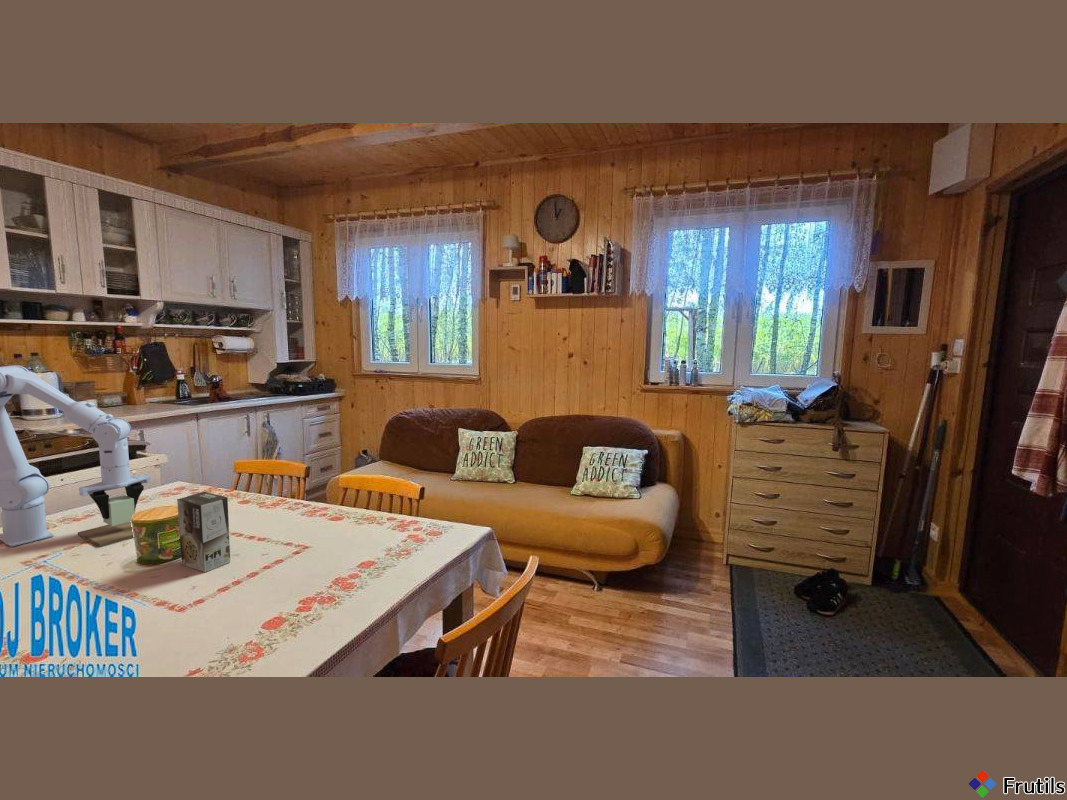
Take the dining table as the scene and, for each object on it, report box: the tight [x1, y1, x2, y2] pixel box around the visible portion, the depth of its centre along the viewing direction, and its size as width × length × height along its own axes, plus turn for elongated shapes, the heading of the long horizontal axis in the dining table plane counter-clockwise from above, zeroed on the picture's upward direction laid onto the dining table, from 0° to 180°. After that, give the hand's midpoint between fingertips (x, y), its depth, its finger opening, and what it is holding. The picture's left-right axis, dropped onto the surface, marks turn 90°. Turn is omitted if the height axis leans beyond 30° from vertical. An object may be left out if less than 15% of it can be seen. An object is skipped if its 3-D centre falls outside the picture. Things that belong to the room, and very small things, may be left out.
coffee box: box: [176, 491, 231, 573], centre depth 113 cm, size 9×6×16 cm
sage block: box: [102, 494, 136, 526], centre depth 128 cm, size 5×5×6 cm
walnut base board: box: [77, 522, 134, 548], centre depth 128 cm, size 13×13×1 cm
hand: (118, 514), depth 128 cm, fingers closed on sage block, 5 cm apart
